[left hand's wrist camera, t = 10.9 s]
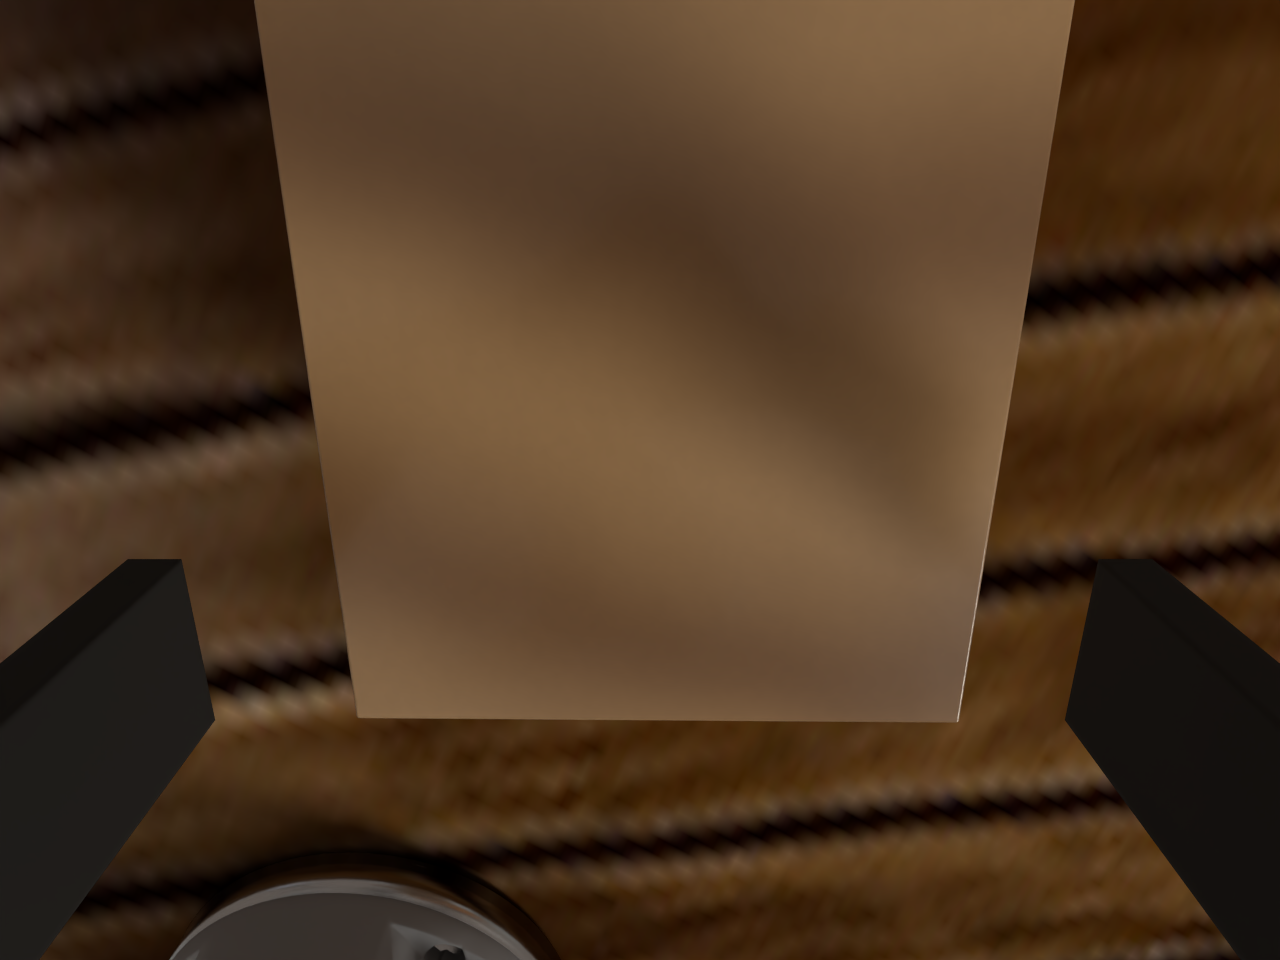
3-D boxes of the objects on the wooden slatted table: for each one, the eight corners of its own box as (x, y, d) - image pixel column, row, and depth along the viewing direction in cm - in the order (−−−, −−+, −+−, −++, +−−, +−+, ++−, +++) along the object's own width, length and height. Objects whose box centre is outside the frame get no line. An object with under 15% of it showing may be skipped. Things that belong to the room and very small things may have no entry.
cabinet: (408, -310, 19) (136, -803, 9) (912, -313, 19) (1207, -817, 9) (470, 492, 26) (356, 719, 16) (840, 493, 26) (959, 723, 16)
